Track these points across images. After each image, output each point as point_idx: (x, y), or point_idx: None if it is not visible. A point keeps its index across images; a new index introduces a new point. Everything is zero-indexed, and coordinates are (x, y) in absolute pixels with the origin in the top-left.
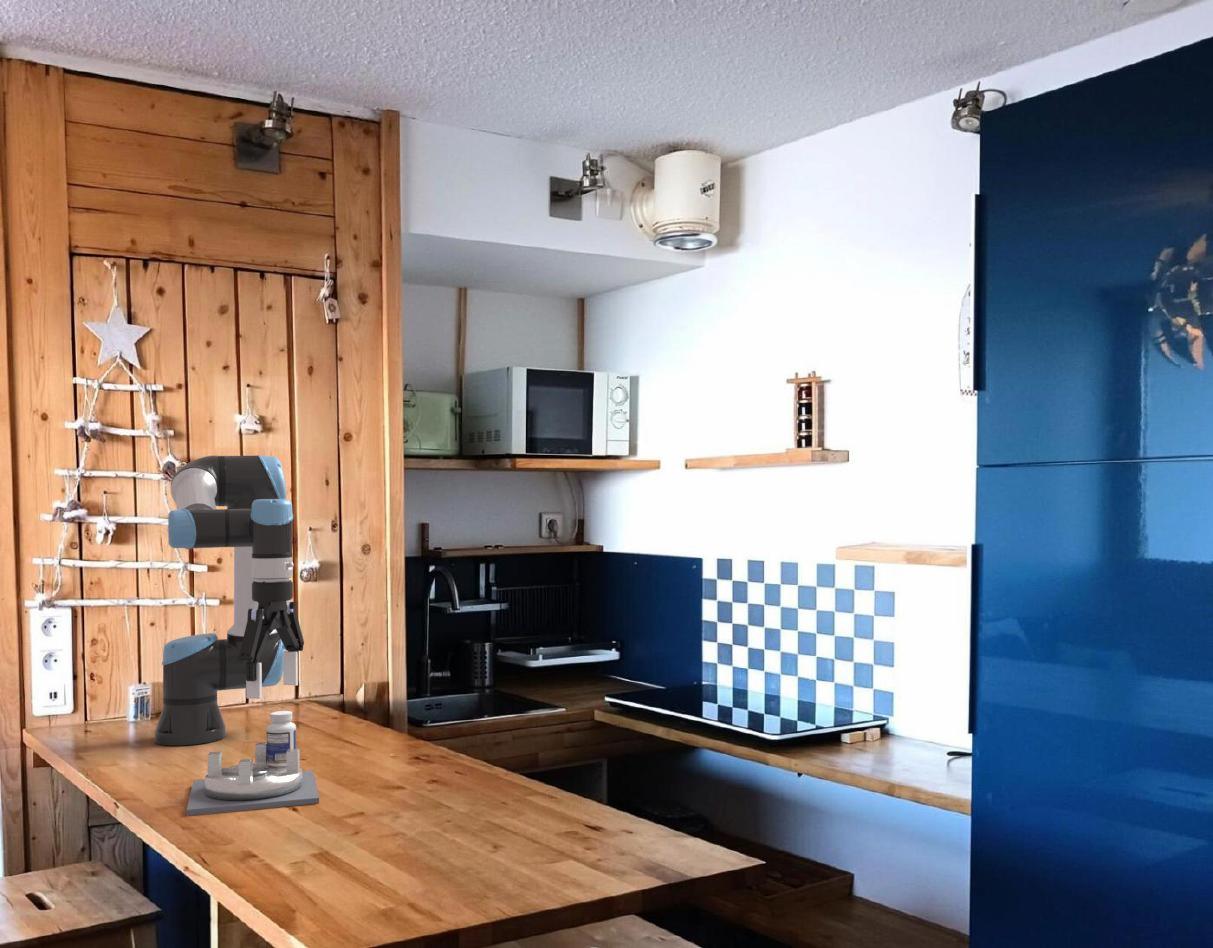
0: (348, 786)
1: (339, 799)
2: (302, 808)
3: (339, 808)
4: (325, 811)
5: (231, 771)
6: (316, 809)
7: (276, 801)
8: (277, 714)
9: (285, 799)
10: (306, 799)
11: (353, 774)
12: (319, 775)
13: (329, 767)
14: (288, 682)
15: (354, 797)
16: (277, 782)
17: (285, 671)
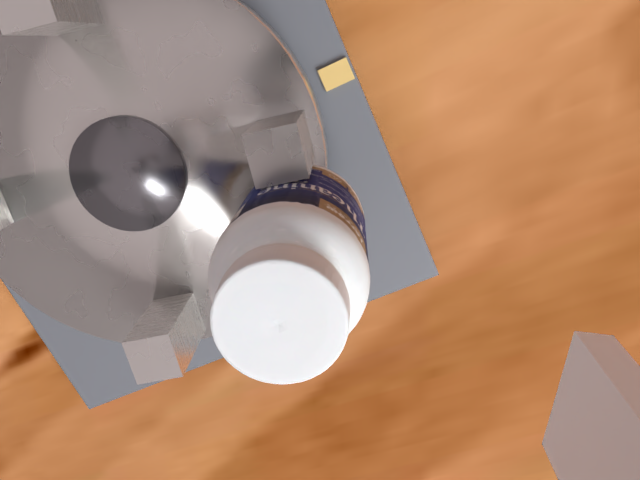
0: (299, 419)
1: (150, 437)
2: (39, 370)
3: (63, 462)
4: (27, 437)
5: (149, 52)
6: (39, 409)
7: (19, 302)
8: (219, 322)
9: (47, 320)
10: (69, 377)
11: (456, 390)
12: (444, 285)
13: (569, 279)
14: (569, 396)
15: (178, 468)
16: (42, 308)
17: (631, 443)
